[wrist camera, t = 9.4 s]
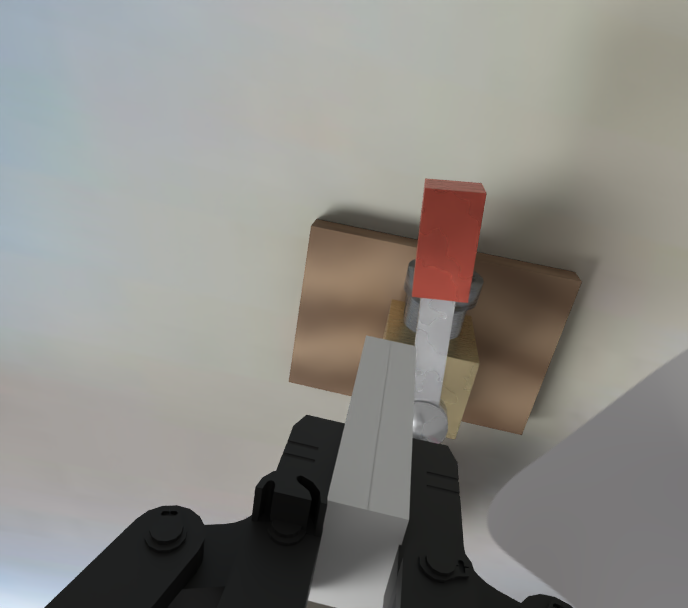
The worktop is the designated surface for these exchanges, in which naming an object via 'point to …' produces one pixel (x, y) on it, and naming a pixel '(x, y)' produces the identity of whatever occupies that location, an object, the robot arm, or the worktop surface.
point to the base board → (387, 283)
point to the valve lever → (441, 290)
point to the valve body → (460, 348)
